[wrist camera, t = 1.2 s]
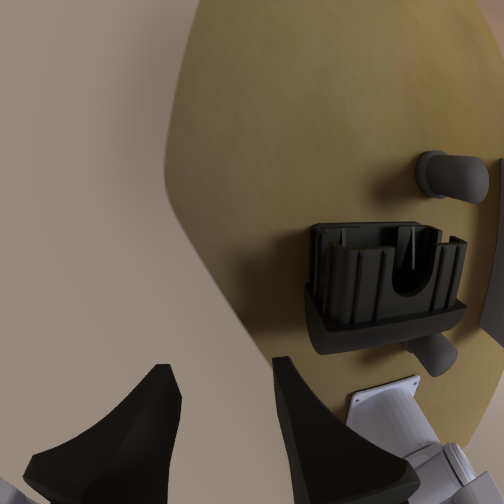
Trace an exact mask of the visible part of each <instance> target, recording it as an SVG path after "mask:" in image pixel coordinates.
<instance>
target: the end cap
mask: <svg viewBox="0 0 504 504" xmlns="http://www.w3.org/2000/svg"><path fill="white" fill-rule="evenodd" d="M441 240H442V230H439V229H437V228H435V227H432V226H428V225H421V224H420V223H417V222H350V223H318V224H315V225H313V226H312V227H311V230H310V255H309V283H306V284H304V299H305V313H306V322H307V328H308V333H309V337H310V340H311V343H312V346H313V348H314V349H315V351H316V352H317V353H318V354H320V355H327V354H334V353H341V352H348V351H354V350H360V349H366V348H372V347H377V346H383V345H388V344H393V343H397V342H402V341H407V340H411V339H415V338H420V337H424V336H428V335H432V334H436V333H439V332H443V331H447V330H450V329H452V328H453V327H455V326H456V325H457V324H458V323H459V322H460V320H461V318H462V317H463V315H464V313H465V310H466V307H467V306H466V305H465V304H463V303H462V302H461V301H460V300H458V299H457V298H456V296H457V292H458V288H459V283H460V279H461V274H462V269H463V264H464V259H465V253H466V247H467V242H466V241H464V240H462V239H460V238H457V237H455V236H450V239H449V243H441Z"/></svg>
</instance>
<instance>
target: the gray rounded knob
mask: <svg viewBox="0 0 504 504" xmlns="http://www.w3.org/2000/svg"><path fill="white" fill-rule="evenodd" d="M416 180H417V183H418V186H419V188H420V189H421V191H422V192H423V193H424V194H426V195H427V196H430V197H434V198H438V199H443V198H445V197H450V198H454V199H458V200H462V201H466V202H469V203H473V204H478V203H480V202H482V201H483V200H484V198H485V197H486V195H487V192H488V188H489V175H488V171H487V168H486V165H485V164H484V162H483V161H482V160H481V159H480V158H478V157H470V156H454V155H447V154H446V153H444V152H442V151H426V152H424V153H423V154H422V155H421V156H420V157H419V159H418V161H417V164H416Z"/></svg>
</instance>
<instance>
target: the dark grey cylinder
mask: <svg viewBox="0 0 504 504" xmlns="http://www.w3.org/2000/svg"><path fill="white" fill-rule="evenodd" d="M401 343H402V345H403V346H404V347H405V349H406V350H407V351H408V352H410V353H414V355H415V356H416V357H417V358H418V360H419V361H420V362H421V364H422V365H423V366H424V368H425V369H426V370H427V371H428V373H429V374H430V375H431V376H432V377H437V376H440V375H442V374H443V373H445V372H446V371H447V370H448V369H449V368H450V367H451V366H452V365H453V363H454V362H455V360H456V358H457V354H458V351H457V349H456V348H455V347H454V346H453V345H452V344H451V343H450V342H449V341H448V340H447V339H446V338H445V337H444V336H443V334H442V333H441V332H439V333H436V334H432V335H428V336H424V337H420V338H415V339H411V340H407V341H402V342H401Z"/></svg>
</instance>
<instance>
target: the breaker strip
mask: <svg viewBox="0 0 504 504" xmlns="http://www.w3.org/2000/svg"><path fill="white" fill-rule="evenodd" d="M478 325H479V326H480V327H481V328H482V329H483V330H484V331H485V332H487V333H488V334H489V335H490V336H491V337H492V338H493V339H494V340H496V341H497V342H498V343H499V344H500V345H501V346H502V347H503V348H504V159H502V158H501V199H500V215H499V227H498V236H497V243H496V250H495V257H494V263H493V268H492V273H491V278H490V283H489V287H488V292H487V296H486V300H485V304H484V307H483V311H482V314H481V318H480V321H479V324H478Z"/></svg>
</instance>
